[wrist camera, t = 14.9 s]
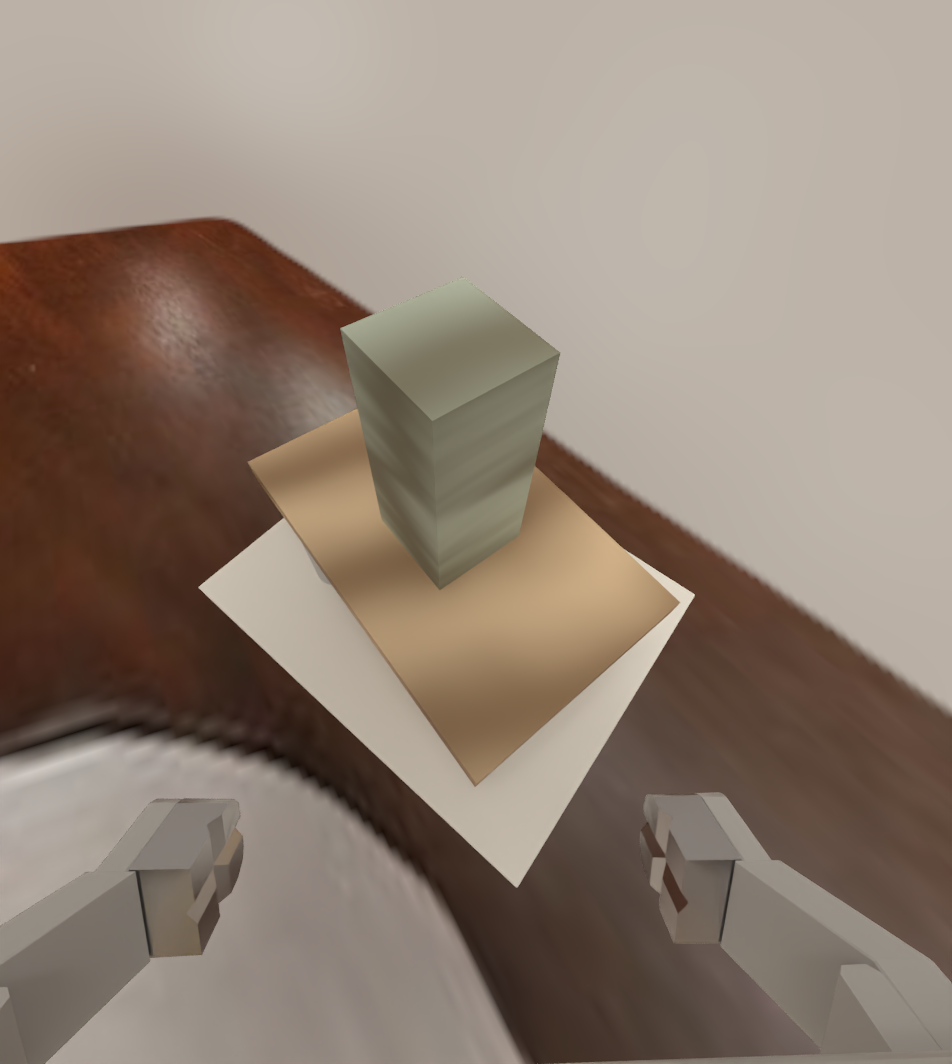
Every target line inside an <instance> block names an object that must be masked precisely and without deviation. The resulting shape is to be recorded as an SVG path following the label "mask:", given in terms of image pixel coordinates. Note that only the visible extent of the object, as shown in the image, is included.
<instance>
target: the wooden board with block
mask: <svg viewBox="0 0 952 1064" xmlns="http://www.w3.org/2000/svg"><path fill="white" fill-rule="evenodd" d="M340 329H341V334H342V339H343V343H344V348H345V353H346V357H347V362H348V366H349V371H350V376H351V380H352V385H353V389H354V394H355V399H356V403H357V409H355V410H353V411H351V412H349V413H347V414H345V415H343V416H341V417H339V418H337V419H335V420H333V421H331V422H329V423H326V424H324V425H322V426H320V427H318V428H316V429H314V430H312V431H310V432H308V433H306V434H304V435H302V436H300V437H298V438H296V439H294V440H292V441H290V442H288V443H286V444H284V445H282V446H280V447H278V448H276V449H273V450H271V451H269V452H267V453H265V454H263V455H261V456H259V457H257V458H255V459H253V460H251V461H249V462H248V464H249V466H250V468H251V470H252V471H253V473H254V475H255V477H256V479H257V480H258V482H259V483H260V484H261V486H262V487H263V489H264V490H265V492H266V493H267V494H268V496H269V497H270V499H271V500H272V501H273V503H274V504H275V506H276V507H277V508H278V510H279V511H280V513H281V514H282V516H283V517H284V518H285V520H286V521H287V523H288V524H289V525H290V527H291V528H292V530H293V531H294V532H295V534H296V535H297V537H298V538H299V540H300V541H301V542H302V544H303V545H304V547H305V548H306V549H307V551H308V552H309V554H310V555H311V556H312V558H313V559H314V561H315V562H316V563H317V565H318V566H319V568H320V569H321V571H322V572H323V573H324V575H325V576H326V578H327V579H328V580H329V582H330V583H331V585H332V586H333V587H334V589H335V590H336V592H337V593H338V595H339V596H340V597H341V599H342V600H343V602H344V603H345V604H346V606H347V607H348V609H349V610H350V611H351V613H352V614H353V616H354V617H355V619H356V620H357V621H358V623H359V624H360V626H361V627H362V628H363V630H364V631H365V633H366V634H367V635H368V637H369V638H370V640H371V641H372V643H373V644H374V645H375V647H376V648H377V650H378V651H379V652H380V654H381V655H382V657H383V658H384V659H385V661H386V662H387V664H388V665H389V666H390V668H391V669H392V671H393V672H394V674H395V675H396V676H397V678H398V679H399V681H400V682H401V683H402V685H403V686H404V688H405V689H406V690H407V692H408V693H409V695H410V696H411V698H412V699H413V700H414V702H415V703H416V705H417V706H418V707H419V709H420V710H421V712H422V713H423V714H424V716H425V717H426V719H427V720H428V722H429V723H430V724H431V726H432V727H433V729H434V730H435V731H436V733H437V734H438V736H439V737H440V738H441V740H442V741H443V743H444V744H445V745H446V747H447V748H448V750H449V751H450V753H451V754H452V755H453V757H454V758H455V760H456V761H457V762H458V764H459V765H460V767H461V768H462V769H463V771H464V772H465V774H466V775H467V777H468V778H469V779H470V781H471V782H472V784H473V785H474V786H475V787H476V786H477V785H478V784H479V783H480V782H481V781H483V780H484V779H485V778H486V777H487V776H488V775H489V774H490V773H492V772H493V771H494V770H495V769H496V768H497V767H498V766H499V765H500V764H502V763H503V762H504V761H505V760H506V759H507V758H508V757H509V756H511V755H512V754H513V753H514V752H515V751H516V750H517V749H518V748H520V747H521V746H522V745H523V744H524V743H525V742H526V741H527V740H529V739H530V738H531V737H532V736H533V735H534V734H535V733H536V732H537V731H539V730H540V729H541V728H542V727H543V726H544V725H545V724H546V723H548V722H549V721H550V720H551V719H552V718H553V717H554V716H555V715H557V714H558V713H559V712H560V711H561V710H562V709H563V708H564V707H566V706H567V705H568V704H569V703H570V702H571V701H572V700H573V699H575V698H576V697H577V696H578V695H579V694H580V693H581V692H582V691H583V690H585V689H586V688H587V687H588V686H589V685H590V684H591V683H592V682H594V681H595V680H596V679H597V678H598V677H599V676H600V675H601V674H603V673H604V672H605V671H606V670H607V669H608V668H609V667H610V666H612V665H613V664H614V663H615V662H616V661H617V660H618V659H619V658H620V657H622V656H623V655H624V654H625V653H626V652H627V651H628V650H629V649H631V648H632V647H633V646H634V645H635V644H636V643H637V642H638V641H640V640H641V639H642V638H643V637H644V636H645V635H646V634H647V633H649V632H650V631H651V630H652V629H653V628H654V627H655V626H656V625H657V624H659V623H660V622H661V621H662V620H663V619H664V618H665V617H666V616H668V615H669V614H670V613H671V612H672V611H673V610H674V609H675V608H676V607H677V606H678V605H679V603H680V602H679V601H678V600H677V599H676V598H675V597H674V596H673V595H672V594H671V593H670V592H669V591H668V590H667V589H665V588H664V587H663V586H662V585H661V584H660V583H659V582H658V581H657V580H656V579H655V578H654V577H653V576H652V575H651V574H649V573H648V572H647V571H646V570H645V569H644V568H643V567H642V566H641V565H640V564H639V563H638V562H637V561H636V560H635V559H634V558H632V557H631V556H630V555H629V554H628V553H627V552H626V551H625V550H624V549H623V548H622V547H621V546H620V545H619V544H618V543H616V542H615V541H614V540H613V539H612V538H611V537H610V536H609V535H608V534H607V533H606V532H605V531H604V530H603V529H602V528H600V527H599V526H598V525H597V524H596V523H595V522H594V521H593V520H592V519H591V518H590V517H589V516H588V515H587V514H586V513H585V512H583V511H582V510H581V509H580V508H579V507H578V506H577V505H576V504H575V503H574V502H573V501H572V500H571V499H570V498H569V497H567V496H566V495H565V494H564V493H563V492H562V491H561V490H560V489H559V488H558V487H557V486H556V485H555V484H554V483H553V482H551V481H550V480H549V479H548V478H547V477H546V476H545V475H544V474H543V473H542V472H541V471H540V470H539V469H538V468H537V467H536V466H535V462H536V458H537V453H538V449H539V444H540V440H541V436H542V431H543V427H544V422H545V418H546V413H547V409H548V405H549V400H550V396H551V391H552V387H553V383H554V378H555V374H556V369H557V365H558V360H559V356H560V352H559V351H557V350H556V349H555V348H554V347H552V346H551V345H550V344H549V343H547V342H546V341H545V340H543V339H542V338H541V337H540V336H538V335H537V334H536V333H534V332H533V331H532V330H531V329H529V328H528V327H527V326H526V325H524V324H523V323H522V322H520V321H519V320H518V319H517V318H515V317H514V316H513V315H512V314H510V313H509V312H508V311H506V310H505V309H504V308H503V307H501V306H500V305H499V304H497V303H496V302H495V301H494V300H492V299H491V298H490V297H488V296H487V295H486V294H485V293H484V292H482V291H481V290H480V289H478V288H477V287H476V286H475V285H473V284H472V283H470V282H469V281H468V280H467V279H466V278H464V277H462V278H460V279H457V280H455V281H452V282H451V283H448V284H445V285H443V286H441V287H438V288H436V289H434V290H431V291H429V292H426V293H424V294H421V295H419V296H417V297H414V298H412V299H409V300H407V301H405V302H403V303H400V304H398V305H395V306H393V307H390V308H388V309H386V310H383V311H381V312H378V313H376V314H374V315H371V316H369V317H366V318H364V319H362V320H359V321H357V322H354V323H352V324H350V325H347V326H345V327H342V328H340Z"/></svg>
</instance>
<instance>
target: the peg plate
mask: <svg viewBox="0 0 952 1064" xmlns="http://www.w3.org/2000/svg"><path fill="white" fill-rule="evenodd" d="M625 551H626V550H625ZM626 552H627V551H626ZM627 553H628V554H629V555H630V556H631V557H632V558H634V559H635V560H636V561H637V562H638V563H639V564H640V565H641V566H642V567H643V568H644V569H645V570H646V571H647V572H648V573H649V574H651V575H652V576H653V577H654V578H655V579H656V580H657V581H658V582H659V583H660V584H661V585H662V586H663V587H664V588H665V589H667V590H668V591H669V592H670V593H671V594H672V595H673V596H674V597H675V598H676V599H677V600H678V601H679V602H680V603H679V605H678V606H677V607H676V608H675V609H674V610H673V611H672V612H671V613H670V614H669V615H668V616H666V617H665V618H664V619H663V620H662V621H661V622H660V623H659V624H657V625H656V626H655V627H654V628H653V629H652V630H651V631H650V632H649V633H647V634H646V635H645V636H644V637H643V638H642V639H641V640H640V641H638V642H637V643H636V644H635V645H634V646H633V647H632V648H631V649H629V650H628V651H627V652H626V653H625V654H624V655H623V656H622V657H620V658H619V659H618V660H617V661H616V662H615V663H614V664H613V665H612V666H610V667H609V668H608V669H607V670H606V671H605V672H604V673H603V674H601V675H600V676H599V677H598V678H597V679H596V680H595V681H594V682H592V683H591V684H590V685H589V686H588V687H587V688H586V689H585V690H583V691H582V692H581V693H580V694H579V695H578V696H577V697H576V698H575V699H573V700H572V701H571V702H570V703H569V704H568V705H567V706H566V707H564V708H563V709H562V710H561V711H560V712H559V713H558V714H557V715H555V716H554V717H553V718H552V719H551V720H550V721H549V722H548V723H546V724H545V725H544V726H543V727H542V728H541V729H540V730H539V731H537V732H536V733H535V734H534V735H533V736H532V737H531V738H530V739H529V740H527V741H526V742H525V743H524V744H523V745H522V746H521V747H520V748H518V749H517V750H516V751H515V752H514V753H513V754H512V755H511V756H509V757H508V758H507V759H506V760H505V761H504V762H503V763H502V764H500V765H499V766H498V767H497V768H496V769H495V770H494V771H493V772H492V773H490V774H489V775H488V776H487V777H486V778H485V779H484V780H483V781H481V782H480V783H479V784H478V785H477V786H476V787H475V786H474V785H473V784H472V782H471V781H470V779H469V778H468V777H467V775H466V774H465V772H464V771H463V769H462V768H461V767H460V765H459V764H458V762H457V761H456V760H455V758H454V757H453V755H452V754H451V753H450V751H449V750H448V748H447V747H446V745H445V744H444V743H443V741H442V740H441V738H440V737H439V736H438V734H437V733H436V731H435V730H434V729H433V727H432V726H431V724H430V723H429V722H428V720H427V719H426V717H425V716H424V714H423V713H422V712H421V710H420V709H419V707H418V706H417V705H416V703H415V702H414V700H413V699H412V698H411V696H410V695H409V693H408V692H407V690H406V689H405V688H404V686H403V685H402V683H401V682H400V681H399V679H398V678H397V676H396V675H395V674H394V672H393V671H392V669H391V668H390V666H389V665H388V664H387V662H386V661H385V659H384V658H383V657H382V655H381V654H380V652H379V651H378V650H377V648H376V647H375V645H374V644H373V643H372V641H371V640H370V638H369V637H368V635H367V634H366V633H365V631H364V630H363V628H362V627H361V626H360V624H359V623H358V621H357V620H356V619H355V617H354V616H353V614H352V613H351V611H350V610H349V609H348V607H347V606H346V604H345V603H344V602H343V600H342V599H341V597H340V596H339V595H338V593H337V592H336V590H335V589H334V587H333V586H332V585H331V583H330V582H329V580H328V579H327V578H326V576H325V575H324V573H323V572H322V571H321V569H320V568H319V566H318V565H317V563H316V562H315V561H314V559H313V558H312V556H311V555H310V554H309V552H308V551H307V549H306V548H305V547H304V545H303V544H302V542H301V541H300V540H299V538H298V537H297V535H296V534H295V532H294V531H293V530H292V528H291V527H290V525H289V524H288V523H287V521H286V520H285V518H283V519H282V520H281V521H279V522H278V523H277V524H276V525H274V526H273V527H272V528H271V529H269V530H268V531H267V532H266V533H265V534H263V535H262V536H261V537H260V538H258V539H257V540H256V541H255V542H253V543H252V544H251V545H250V546H248V547H247V548H246V549H245V550H244V551H242V552H241V553H240V554H239V555H237V556H236V557H235V558H234V559H232V560H231V561H230V562H229V563H228V564H226V565H225V566H224V567H223V568H221V569H220V570H219V571H218V572H216V573H215V574H214V575H213V576H212V577H210V578H209V579H208V580H207V581H205V582H204V583H203V584H202V585H200V586H199V587H198V588H199V589H200V590H201V591H202V592H203V593H204V594H205V595H206V596H207V597H208V598H209V599H210V600H211V601H213V602H214V603H215V604H216V605H217V606H218V607H219V608H220V609H221V610H222V611H223V612H224V613H225V614H226V615H227V616H228V617H230V618H231V619H232V620H233V621H234V622H235V623H236V624H237V625H238V626H239V627H240V628H241V629H242V630H243V631H244V632H245V633H246V634H248V635H249V636H250V637H251V638H252V639H253V640H254V641H255V642H256V643H257V644H258V645H259V646H260V647H261V648H262V649H263V650H264V651H266V652H267V653H268V654H269V655H270V656H271V657H272V658H273V659H274V660H275V661H276V662H277V663H278V664H279V665H280V666H281V667H283V668H284V669H285V670H286V671H287V672H288V673H289V674H290V675H291V676H292V677H293V678H294V679H295V680H296V681H297V682H298V683H299V684H301V685H302V686H303V687H304V688H305V689H306V690H307V691H308V692H309V693H310V694H311V695H312V696H313V697H314V698H315V699H316V700H318V701H319V702H320V703H321V704H322V705H323V706H324V707H325V708H326V709H327V710H328V711H329V712H330V713H331V714H332V715H333V716H334V717H336V718H337V719H338V720H339V721H340V722H341V723H342V724H343V725H344V726H345V727H346V728H347V729H348V730H349V731H350V732H351V733H352V734H354V735H355V736H356V737H357V738H358V739H359V740H360V741H361V742H362V743H363V744H364V745H365V746H366V747H367V748H368V749H369V750H371V751H372V752H373V753H374V754H375V755H376V756H377V757H378V758H379V759H380V760H381V761H382V762H383V763H384V764H385V765H386V766H387V767H389V768H390V769H391V770H392V771H393V772H394V773H395V774H396V775H397V776H398V777H399V778H400V779H401V780H402V781H403V782H404V783H405V784H407V785H408V786H409V787H410V788H411V789H412V790H413V791H414V792H415V793H416V794H417V795H418V796H419V797H420V798H421V799H422V800H424V801H425V802H426V803H427V804H428V805H429V806H430V807H431V808H432V809H433V810H434V811H435V812H436V813H437V814H438V815H439V816H440V817H442V818H443V819H444V820H445V821H446V822H447V823H448V824H449V825H450V826H451V827H452V828H453V829H454V830H455V831H456V832H457V833H459V834H460V835H461V836H462V837H463V838H464V839H465V840H466V841H467V842H468V843H469V844H470V845H471V846H472V847H473V848H474V849H475V850H477V851H478V852H479V853H480V854H481V855H482V856H483V857H484V858H485V859H486V860H487V861H488V862H489V863H490V864H491V865H492V866H493V867H495V868H496V869H497V870H498V871H499V872H500V873H501V874H502V875H503V876H504V877H505V878H506V879H507V880H508V881H509V882H510V883H512V884H513V885H514V886H515V887H516V888H518V886H519V884H520V883H521V881H522V879H523V878H524V876H525V874H526V873H527V871H528V869H529V868H530V866H531V864H532V863H533V861H534V860H535V858H536V856H537V855H538V853H539V851H540V850H541V848H542V846H543V845H544V843H545V841H546V840H547V838H548V836H549V835H550V833H551V832H552V830H553V828H554V827H555V825H556V823H557V822H558V820H559V818H560V817H561V815H562V813H563V812H564V810H565V808H566V807H567V805H568V804H569V802H570V800H571V799H572V797H573V795H574V794H575V792H576V790H577V789H578V787H579V785H580V784H581V782H582V781H583V779H584V777H585V776H586V774H587V772H588V771H589V769H590V767H591V766H592V764H593V762H594V761H595V759H596V757H597V756H598V754H599V753H600V751H601V749H602V748H603V746H604V744H605V743H606V741H607V739H608V738H609V736H610V734H611V733H612V731H613V729H614V728H615V726H616V725H617V723H618V721H619V720H620V718H621V716H622V715H623V713H624V711H625V710H626V708H627V706H628V705H629V703H630V701H631V700H632V698H633V697H634V695H635V693H636V692H637V690H638V688H639V687H640V685H641V683H642V682H643V680H644V678H645V677H646V675H647V673H648V672H649V670H650V669H651V667H652V665H653V664H654V662H655V660H656V659H657V657H658V655H659V654H660V652H661V650H662V649H663V647H664V646H665V644H666V642H667V641H668V639H669V637H670V636H671V634H672V632H673V631H674V629H675V627H676V626H677V624H678V622H679V621H680V619H681V618H682V616H683V614H684V613H685V611H686V609H687V608H688V606H689V604H690V603H691V601H692V599H693V598H694V596H695V594H693V593H691V592H690V591H688V590H687V589H685V588H684V587H682V586H680V585H679V584H677V583H676V582H674V581H673V580H671V579H670V578H668V577H666V576H665V575H663V574H662V573H660V572H659V571H657V570H656V569H654V568H652V567H651V566H649V565H648V564H646V563H645V562H643V561H641V560H640V559H638V558H637V557H635V556H634V555H632V554H631V553H629V552H627Z"/></svg>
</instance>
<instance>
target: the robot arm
mask: <svg viewBox="0 0 952 1064" xmlns="http://www.w3.org/2000/svg"><path fill="white" fill-rule="evenodd" d="M643 812H644V815H645V817H646V819H647V821H648V822H647V823H646V825H645V826H644V827H643V828H642V829H641V833H640V852H641V861H642V864H643V868H644V872H645V874H646V877H647V879H648V882H649V885H650V886H652V887H653V888H654V889H655V890H656V891H657V892H659V893H660V902H659V909H660V911H661V914H662V916H663V918H664V921H665V923H666V926H667V928H668V930H669V933H670V935H671V937H672V940H673V942H674V943H693V944H721V947H722V948H723V949H724V950H725V952H726V953H727V954H728V955H729V956H730V957H731V958H732V959H733V960H734V961H735V962H736V963H737V964H738V965H739V966H740V967H741V968H742V969H743V970H744V971H745V972H746V973H747V974H748V975H749V976H750V977H751V978H752V979H753V980H754V981H755V982H756V983H757V984H758V985H759V986H760V987H761V988H762V989H763V990H764V991H765V992H766V993H767V994H768V995H769V996H770V997H771V998H772V999H773V1000H774V1002H775V1003H776V1004H777V1005H778V1006H779V1007H780V1008H781V1009H782V1010H783V1011H784V1012H785V1013H786V1014H787V1015H788V1016H789V1017H790V1018H791V1019H792V1020H793V1021H794V1022H795V1023H796V1024H797V1025H798V1026H799V1027H800V1028H801V1029H802V1030H803V1031H804V1032H805V1033H806V1034H807V1035H808V1036H809V1037H810V1038H811V1039H812V1040H813V1041H814V1042H815V1043H816V1044H817V1045H818V1046H819V1047H820V1048H821V1050H820V1054H812V1055H783V1056H754V1057H724V1058H695V1059H667V1060H639V1061H611V1062H584V1063H556V1064H952V983H951V982H950V980H949V979H948V978H947V977H946V976H945V975H944V974H943V972H942V971H941V970H940V969H939V968H938V967H937V966H936V964H935V963H934V962H933V961H932V960H931V959H929V958H928V957H926V956H924V955H923V954H921V953H920V952H918V951H917V950H915V949H914V948H912V947H911V946H909V945H908V944H906V943H905V942H903V941H902V940H900V939H899V938H897V937H896V936H894V935H892V934H891V933H889V932H888V931H886V930H885V929H883V928H882V927H880V926H879V925H877V924H876V923H874V922H873V921H871V920H870V919H868V918H867V917H865V916H864V915H862V914H860V913H859V912H857V911H856V910H854V909H853V908H851V907H850V906H848V905H847V904H845V903H844V902H842V901H841V900H839V899H838V898H836V897H835V896H833V895H831V894H830V893H828V892H827V891H825V890H824V889H822V888H821V887H819V886H818V885H816V884H815V883H813V882H812V881H810V880H809V879H807V878H806V877H804V876H803V875H801V874H799V873H798V872H796V871H795V870H793V869H792V868H790V867H789V866H787V865H786V864H784V863H783V862H781V861H780V860H771V859H770V857H769V856H768V855H767V853H766V852H765V850H764V849H763V848H762V846H761V845H760V843H759V842H758V841H757V839H756V838H755V836H754V835H753V834H752V832H751V831H750V829H749V828H748V827H747V825H746V824H745V822H744V821H743V820H742V818H741V817H740V815H739V814H738V813H737V811H736V810H735V809H734V807H733V806H732V804H731V803H730V802H729V800H728V799H727V797H726V796H725V795H723V794H722V793H720V792H716V793H696V794H650V795H647V796H646V798H645V800H644V807H643ZM239 818H240V810H239V803H238V801H236V800H234V799H156V800H154V801H153V802H151V803H150V804H149V805H148V806H147V807H146V808H145V809H144V811H143V812H142V813H141V815H140V816H139V817H138V818H137V820H136V821H135V822H134V823H133V825H132V826H131V827H130V828H129V830H128V831H127V832H126V833H125V835H124V836H123V837H122V838H121V840H120V841H119V842H118V843H117V845H116V846H115V847H114V849H113V850H112V851H111V852H110V854H109V855H108V856H107V857H106V859H105V860H104V861H103V862H102V864H101V865H100V866H99V867H98V869H97V870H96V871H95V872H86V873H84V874H83V875H81V876H79V877H78V878H76V879H75V880H73V881H71V882H70V883H68V884H67V885H65V886H63V887H62V888H60V889H59V890H57V891H55V892H54V893H52V894H51V895H49V896H47V897H46V898H44V899H43V900H41V901H39V902H38V903H36V904H35V905H33V906H31V907H30V908H28V909H27V910H25V911H23V912H22V913H20V914H19V915H17V916H15V917H14V918H12V919H11V920H9V921H7V922H6V923H4V924H3V925H1V926H0V1064H45V1063H46V1062H47V1061H48V1060H49V1059H50V1058H51V1057H52V1056H53V1055H54V1054H55V1053H56V1052H57V1051H58V1050H59V1049H60V1048H61V1047H62V1046H63V1045H64V1044H65V1043H66V1042H67V1041H68V1040H69V1039H71V1038H72V1037H73V1036H74V1035H75V1034H76V1033H77V1032H78V1031H79V1030H80V1029H81V1028H82V1027H83V1026H84V1025H85V1024H86V1023H87V1022H88V1021H89V1020H90V1019H91V1018H92V1017H93V1016H94V1015H95V1014H96V1013H97V1012H98V1011H99V1010H100V1009H101V1008H102V1007H103V1006H104V1005H106V1004H107V1003H108V1002H109V1001H110V1000H111V999H112V998H113V997H114V996H115V995H116V994H117V993H118V992H119V991H120V990H121V989H122V988H123V987H124V986H125V985H126V984H127V983H128V982H129V981H130V980H131V979H132V978H133V977H134V976H135V975H136V974H137V973H138V972H140V971H141V970H142V969H143V968H144V967H145V966H146V965H147V964H148V963H149V962H150V958H155V957H172V956H190V955H202V953H203V951H204V949H205V947H206V945H207V943H208V940H209V938H210V936H211V934H212V932H213V930H214V928H215V926H216V924H217V922H218V919H219V917H220V913H219V904H218V903H219V902H221V901H222V900H223V899H224V898H225V897H227V896H228V895H229V894H230V893H231V892H232V890H233V887H234V885H235V883H236V881H237V878H238V875H239V871H240V867H241V864H242V859H243V836H242V835H241V833H240V832H239V831H238V830H237V829H236V828H235V826H236V824H237V822H238V820H239Z"/></svg>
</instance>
